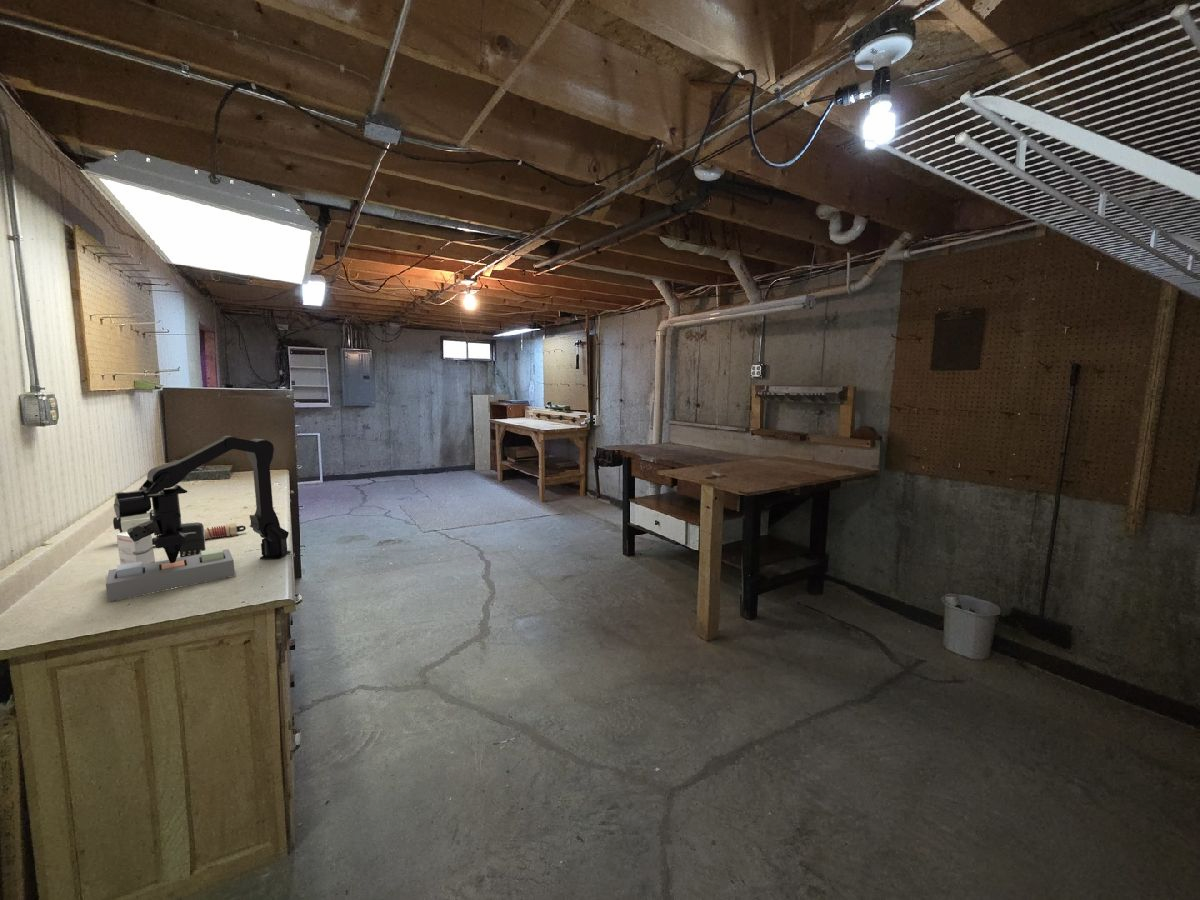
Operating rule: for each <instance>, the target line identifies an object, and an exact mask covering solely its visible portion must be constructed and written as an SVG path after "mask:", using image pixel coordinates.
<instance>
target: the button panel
mask: <svg viewBox="0 0 1200 900" xmlns="http://www.w3.org/2000/svg"><path fill="white" fill-rule="evenodd" d="M222 550H223V556H224V558H223V559H218V560H213V561H207V562H202V560H201V554H198V555H192V556H186V557H181V558H180V557H177V559H176V561H182V560H184V563H185V566H180V567H175V568H170V569H164V570H162V565H161V564H165V563H170V561H169V559H165V560H159V561H155V562H152V563H147V564H142V566H143V574H137V575H132V576H127V577H121V578H117V572H116V570H117V568H115V569H114V568H113V569H109V570H108V573H107V575H106V576H107V577H106V580H105V589H106V596H107V602H108V603H110V602H109V601H112V602H115V601H114V600H116V601H120V600H119V599H121V600H125V599H124V598H126V599H130V598H129V597H131V598H135V597H134V596H136V597H139V596H138V595H140V596H144V595H143V594H145V595H149V594H148V593H150V594H153V593H152V592H155V593H158V592H157V591H160V592H163V591H162V590H164V591H167V590H166V589H169V590H172V589H171V588H174V589H176V588H175V587H179V588H181V587H180V586H184V587H186V586H185V585H189V586H192V585H191V584H193V585H196V584H195V583H198V584H201V582H203V583H206V582H205V581H208V582H211V581H210V580H213V581H216V580H215V579H217V580H221V579H220V578H222V579H225V578H224V577H227V578H230V577H229V576H232V577H235V576H236V573H235V572H236V570H235V562H234V561H235V560H234V558H233V556H232V553H231V552H230V550H229V548H227V549H222ZM176 561H175V562H176ZM234 575H235V576H234Z"/></svg>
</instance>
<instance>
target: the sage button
mask: <svg viewBox="0 0 1200 900" xmlns="http://www.w3.org/2000/svg"><path fill="white" fill-rule="evenodd" d="M223 550H224V549H223V548H222V547H217V548H211V549H206V550H204V551H201V560H202V562H207V561H213V560H218V559H223V558H224V556H223Z"/></svg>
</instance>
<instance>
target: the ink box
mask: <svg viewBox="0 0 1200 900" xmlns="http://www.w3.org/2000/svg"><path fill="white" fill-rule="evenodd" d="M152 538H153V536H152V534H151V535H149V536H146V537H144V538H141V539H140V540H139V541H136V542H133V540H132V539H131V538H130V536H129V534H128V533H127V532H122V533H118V534H116V541H117V548H118V555H119V556H118V557H119V565H124V564H129V563H135V562H141V561H142V564H147V563H152V562H156V559H155V552H154V551H155V550H154V545H153V543H152Z"/></svg>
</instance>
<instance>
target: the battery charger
mask: <svg viewBox="0 0 1200 900" xmlns="http://www.w3.org/2000/svg"><path fill="white" fill-rule="evenodd" d="M182 527H183V531H182V532H181V533H183V534H184V536H185V544H182V547H181V549H180V551H179V558H181V557H186V556H192V555H198V554H201V551H204V550H207V549H206V540H205V539H206V538H205V532H204V530H205V526H204V524H203V523H202V522H200V521H195V522H193V521H192V522H185V523H182ZM179 532H180V531H179Z"/></svg>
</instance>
